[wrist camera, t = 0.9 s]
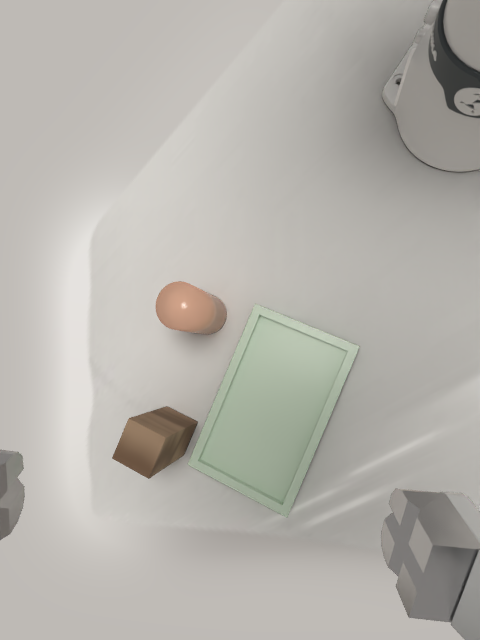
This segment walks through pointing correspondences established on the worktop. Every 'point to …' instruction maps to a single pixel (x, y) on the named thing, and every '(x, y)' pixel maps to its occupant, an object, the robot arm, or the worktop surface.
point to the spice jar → (190, 309)
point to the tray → (272, 408)
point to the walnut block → (154, 440)
